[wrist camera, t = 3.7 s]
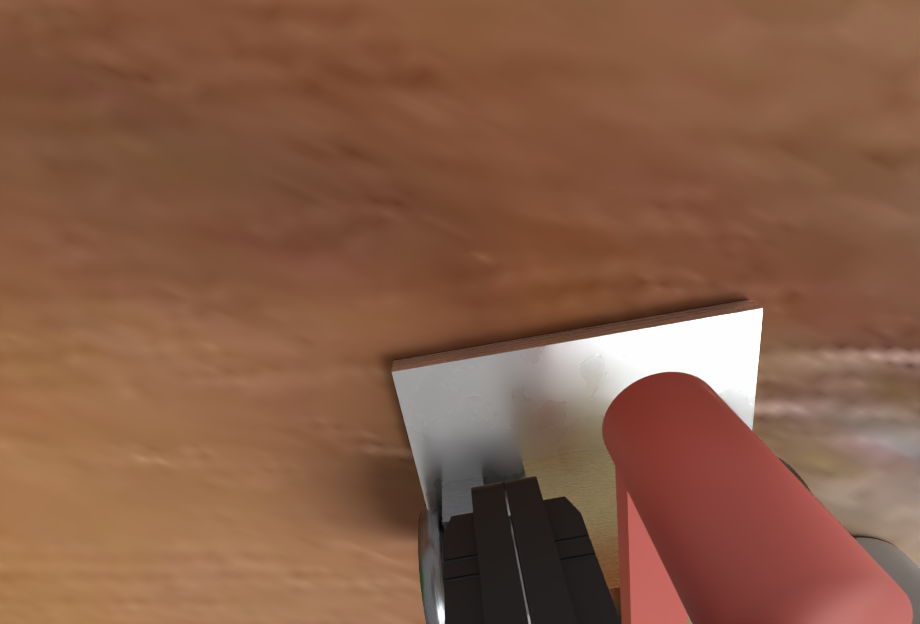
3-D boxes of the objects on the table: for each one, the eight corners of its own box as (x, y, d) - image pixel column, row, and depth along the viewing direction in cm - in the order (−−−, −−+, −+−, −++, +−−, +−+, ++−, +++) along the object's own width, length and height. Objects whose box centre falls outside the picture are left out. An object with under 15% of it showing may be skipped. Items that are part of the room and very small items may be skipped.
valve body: (749, 299, 22) (907, 402, 15) (728, 578, 29) (826, 740, 22) (393, 360, 22) (373, 490, 15) (459, 620, 30) (468, 794, 22)
